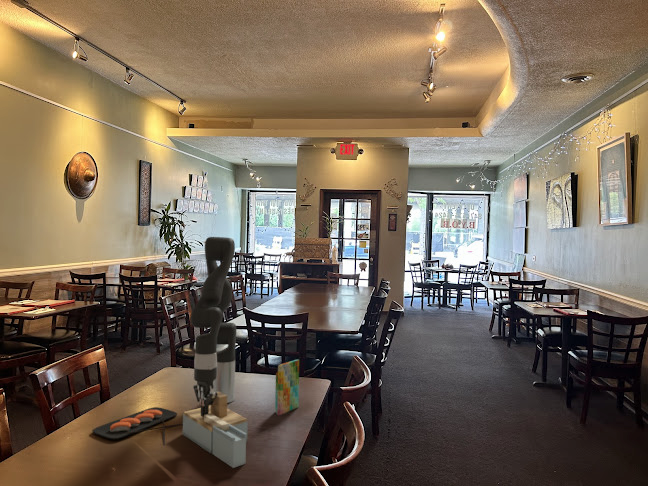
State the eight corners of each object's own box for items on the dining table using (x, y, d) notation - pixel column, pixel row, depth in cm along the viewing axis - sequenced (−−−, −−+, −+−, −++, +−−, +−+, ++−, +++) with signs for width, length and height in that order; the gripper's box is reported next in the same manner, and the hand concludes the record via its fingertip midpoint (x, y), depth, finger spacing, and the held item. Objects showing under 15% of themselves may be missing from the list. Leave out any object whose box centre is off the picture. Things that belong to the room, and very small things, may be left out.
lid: (183, 414, 167) (184, 392, 167) (217, 406, 176) (218, 384, 176) (211, 431, 153) (212, 407, 153) (246, 421, 162) (247, 398, 162)
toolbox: (182, 434, 167) (182, 408, 167) (217, 424, 177) (218, 400, 177) (232, 468, 143) (232, 438, 143) (269, 454, 152) (270, 426, 152)
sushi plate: (155, 410, 191) (155, 401, 191) (209, 426, 176) (210, 416, 176) (88, 435, 166) (88, 424, 166) (145, 456, 151) (145, 444, 151)
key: (203, 420, 159) (204, 414, 159) (210, 419, 160) (210, 413, 160) (222, 431, 150) (222, 425, 150) (228, 429, 151) (229, 423, 151)
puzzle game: (281, 416, 186) (282, 365, 186) (272, 413, 189) (273, 363, 189) (299, 407, 196) (300, 360, 196) (291, 405, 199) (292, 358, 199)
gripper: (186, 363, 163) (185, 413, 163) (205, 371, 153) (204, 424, 153) (206, 360, 168) (205, 408, 168) (225, 367, 158) (224, 419, 158)
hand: (204, 416), depth 160 cm, fingers closed
